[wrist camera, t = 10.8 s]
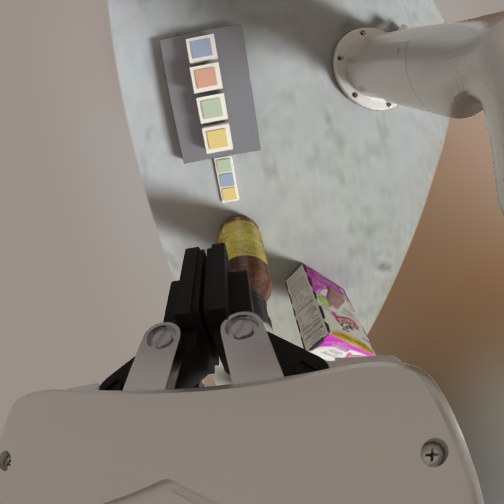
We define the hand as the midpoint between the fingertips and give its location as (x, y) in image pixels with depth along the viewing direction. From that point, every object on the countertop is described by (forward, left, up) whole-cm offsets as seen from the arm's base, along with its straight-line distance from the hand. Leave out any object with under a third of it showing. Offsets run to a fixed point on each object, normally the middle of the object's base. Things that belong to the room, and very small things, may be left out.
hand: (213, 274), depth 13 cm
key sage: (-4, -4, -28) cm, 29 cm away
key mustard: (-1, -1, -28) cm, 28 cm away
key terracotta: (-6, -6, -27) cm, 29 cm away
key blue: (-9, -9, -28) cm, 31 cm away
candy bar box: (+11, +27, -29) cm, 41 cm away
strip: (+4, +4, -29) cm, 30 cm away
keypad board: (-5, -5, -29) cm, 30 cm away
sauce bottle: (+10, +10, -29) cm, 33 cm away
